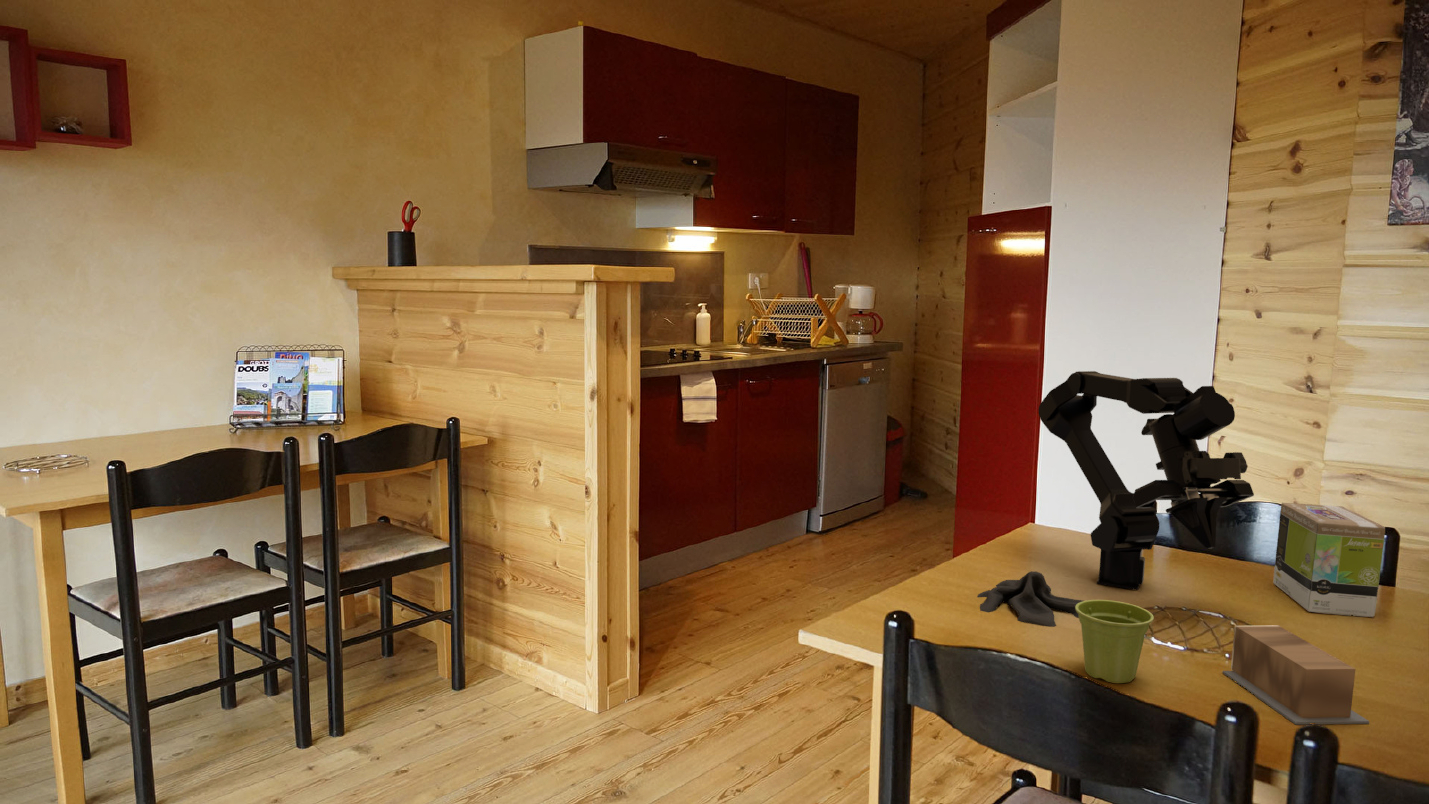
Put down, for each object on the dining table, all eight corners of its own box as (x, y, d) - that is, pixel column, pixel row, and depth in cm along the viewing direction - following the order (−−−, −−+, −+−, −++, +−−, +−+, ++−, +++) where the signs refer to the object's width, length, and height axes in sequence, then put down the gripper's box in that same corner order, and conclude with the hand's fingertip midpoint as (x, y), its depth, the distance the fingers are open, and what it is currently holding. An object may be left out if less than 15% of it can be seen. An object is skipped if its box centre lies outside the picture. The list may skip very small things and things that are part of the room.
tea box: (1378, 619, 146) (1388, 526, 144) (1306, 613, 148) (1315, 522, 146) (1335, 588, 160) (1343, 503, 158) (1270, 583, 162) (1278, 500, 160)
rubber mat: (1222, 673, 124) (1222, 670, 124) (1287, 672, 125) (1288, 670, 125) (1295, 724, 110) (1295, 722, 110) (1369, 723, 110) (1369, 721, 110)
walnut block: (1234, 625, 124) (1306, 669, 110) (1278, 625, 124) (1355, 668, 111) (1230, 668, 125) (1301, 717, 111) (1274, 668, 125) (1350, 717, 111)
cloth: (1022, 580, 163) (1025, 546, 163) (1118, 613, 148) (1121, 576, 147) (931, 602, 152) (932, 566, 151) (1024, 641, 136) (1026, 600, 135)
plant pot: (1059, 660, 128) (1063, 599, 126) (1125, 659, 128) (1129, 598, 127) (1092, 690, 118) (1096, 624, 117) (1163, 689, 119) (1168, 623, 118)
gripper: (1170, 430, 137) (1205, 533, 131) (1264, 432, 144) (1301, 531, 137) (1118, 458, 147) (1148, 555, 141) (1208, 459, 153) (1240, 552, 147)
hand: (1211, 548), depth 141 cm, fingers closed
